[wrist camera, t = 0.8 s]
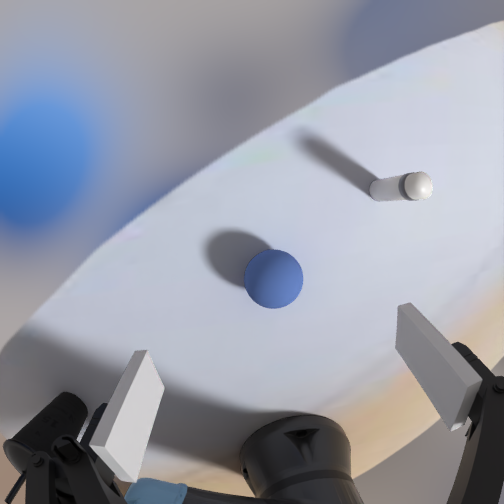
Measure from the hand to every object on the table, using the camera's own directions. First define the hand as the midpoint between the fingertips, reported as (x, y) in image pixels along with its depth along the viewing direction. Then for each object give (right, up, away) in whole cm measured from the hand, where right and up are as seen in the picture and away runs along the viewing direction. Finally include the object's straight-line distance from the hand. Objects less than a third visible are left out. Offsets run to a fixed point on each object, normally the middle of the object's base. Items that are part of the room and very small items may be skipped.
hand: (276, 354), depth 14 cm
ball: (+1, +3, +14) cm, 14 cm away
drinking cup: (-26, -16, +17) cm, 35 cm away
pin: (+13, +12, +16) cm, 24 cm away
